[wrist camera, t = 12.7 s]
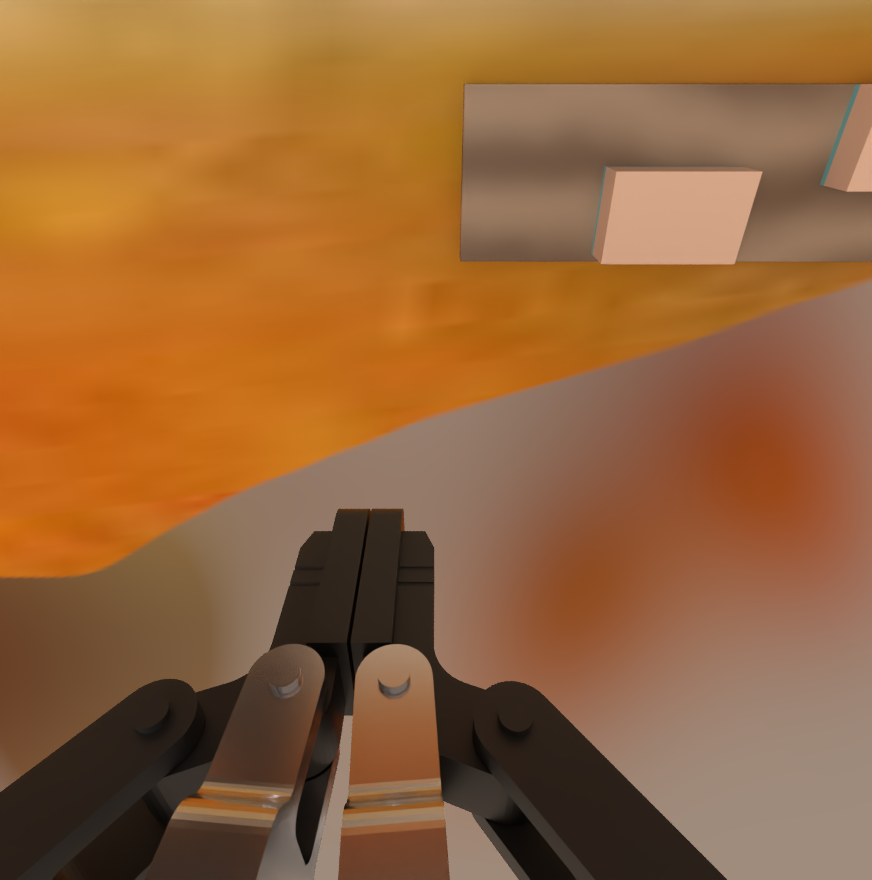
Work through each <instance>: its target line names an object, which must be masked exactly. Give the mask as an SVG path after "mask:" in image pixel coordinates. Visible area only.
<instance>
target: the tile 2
mask: <svg viewBox="0 0 872 880" xmlns="http://www.w3.org/2000/svg"><path fill="white" fill-rule="evenodd" d="M820 185H823V186H827V187H830V188H834V189H838V190H842V191H846V192H872V84H856V85H855V88H854V91H853V94H852V96H851V99H850V102H849V105H848V107H847V110H846V113H845V116H844V119H843V121H842V124H841V127H840V130H839V132H838V135H837V138H836V141H835V143H834V146H833V149H832V152H831V155H830V157H829V160H828V163H827V166H826V168H825V171H824V174H823V177H822V180H821V182H820Z"/></svg>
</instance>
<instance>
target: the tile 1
mask: <svg viewBox="0 0 872 880" xmlns="http://www.w3.org/2000/svg"><path fill="white" fill-rule="evenodd" d="M761 175H762V171H758V170H755V169H751V168H747V167H743V166H604V173H603V179H602V186H601V192H600V199H599V205H598V211H597V218H596V224H595V231H594V237H593V244H592V250H591V254H592V255H593V256H594V257H595V258H596V259H597V260H598V262H599V263H600V264H735V261H736V258H737V255H738V251H739V248H740V245H741V241H742V238H743V235H744V231H745V228H746V225H747V222H748V218H749V215H750V212H751V208H752V205H753V202H754V198H755V195H756V192H757V189H758V185H759V182H760V179H761Z"/></svg>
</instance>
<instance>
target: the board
mask: <svg viewBox="0 0 872 880" xmlns="http://www.w3.org/2000/svg"><path fill="white" fill-rule="evenodd" d="M855 85H856V84H464V104H463V146H462V188H461V229H460V261H598V260H597V259H596V258H595V257H594V256H593V255H592V254H591V250H592V244H593V237H594V231H595V224H596V218H597V211H598V205H599V199H600V192H601V186H602V179H603V173H604V166H743V167H747V168H751V169H755V170H758V171H762V175H761V179H760V182H759V185H758V189H757V192H756V195H755V198H754V202H753V205H752V208H751V212H750V215H749V218H748V222H747V225H746V228H745V231H744V235H743V238H742V241H741V245H740V248H739V251H738V255H737V258H736V261H735V262H872V192H846V191H842V190H838V189H834V188H830V187H827V186H823V185H820V182H821V180H822V177H823V174H824V171H825V168H826V166H827V163H828V160H829V157H830V155H831V152H832V149H833V146H834V143H835V141H836V138H837V135H838V132H839V130H840V127H841V124H842V121H843V119H844V116H845V113H846V110H847V107H848V105H849V102H850V99H851V96H852V94H853V91H854V88H855Z"/></svg>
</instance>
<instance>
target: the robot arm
mask: <svg viewBox="0 0 872 880" xmlns="http://www.w3.org/2000/svg"><path fill="white" fill-rule="evenodd" d="M344 715H353V725H352V743H351V759H350V777H349V792H348V799H347V803H346V804H345V806H344V811H343V818H342V828H341V843H340V857H339V874H338V880H450V875H449V864H448V863H449V862H448V849H447V836H446V823H445V811H444V802H443V801H445V802H447V803H450V804H452V805H455V806H457V807H460V808H462V809H465V810H467V811H469V812H472V815H473V817H474V818H475V820H476V822H477V823H478V824H479V826H480V827H481V829H482V830H483V831H484V833H485V834H486V835H487V837H488V838H489V839H490V841H491V842H492V843H493V845H494V846H495V848H496V849H497V850H498V852H499V853H500V854H501V856H502V857H503V859H504V860H505V861H506V863H507V864H508V865H509V867H510V868H511V869H512V871H513V872H514V874H515V875H516V876H517V878H518V879H519V880H727V879H726V878H725V877H724V876H723V875H722V874H721V873H720V872H719V871H718V870H717V869H716V868H715V867H714V866H713V865H712V864H711V863H710V862H709V861H708V860H707V859H706V858H705V857H704V856H703V855H702V854H701V853H700V852H699V851H698V850H697V849H696V848H695V847H694V846H693V845H692V844H691V843H690V842H689V841H688V840H687V839H686V838H685V837H684V836H683V835H682V834H681V833H680V832H679V831H678V830H677V829H676V828H675V827H674V826H673V825H672V824H671V823H670V822H669V821H668V820H667V819H666V818H665V817H664V816H663V815H662V814H661V813H660V812H659V811H658V810H657V809H656V808H655V807H654V806H653V805H652V804H651V803H650V802H649V801H648V800H647V799H646V798H645V797H644V796H643V795H642V794H641V793H640V792H639V791H638V790H637V789H636V788H635V787H634V786H633V785H632V784H631V783H630V782H629V781H628V780H627V779H626V778H625V777H624V776H623V775H622V774H621V773H620V772H619V771H618V770H617V769H616V768H615V767H614V766H613V765H612V764H611V763H610V762H609V761H608V760H607V759H606V758H605V757H604V756H603V755H602V754H601V753H600V752H599V751H598V750H597V749H596V748H595V747H594V746H593V745H592V744H591V743H590V742H589V741H588V740H587V739H586V738H585V737H584V736H583V735H582V734H581V733H580V732H579V731H578V730H577V729H576V728H575V727H574V725H573V724H572V723H571V722H570V721H569V720H568V719H566V717H565V716H564V715H562V714H561V713H560V711H558V709H557V708H556V707H555V706H554V705H553V704H552V703H550V701H549V700H548V699H547V698H545V696H544V695H542V694H541V693H540V692H539V691H538V690H536V689H535V688H533V687H531V686H529V685H527V684H524V683H520V682H515V681H505V682H501V683H497V684H495V685H492V686H491V687H489V688H488V689H486V690H484V689H481V688H478V687H476V686H472V685H469V684H467V683H464V682H462V681H459V680H457V679H456V678H454V677H452V676H451V675H450V674H448V673H447V672H446V671H445V670H444V669H443V668H442V666H441V665H440V664H439V662H438V660H437V658H436V655H435V651H434V547H433V545H432V543H431V541H430V539H429V538H428V536H427V534H426V532H425V531H404V511H403V509H372V510H371V511H370V509H338V511H337V513H336V517H335V522H334V526H333V530H332V531H314V533H313V534H312V535H311V536H310V537H309V538H308V540H307V541H306V542H305V543H304V544H303V546H302V547H301V548H300V551H299V555H298V558H297V562H296V565H295V570H294V572H293V575H292V578H291V581H290V586H289V588H288V592H287V595H286V599H285V602H284V605H283V608H282V612H281V615H280V618H279V622H278V625H277V629H276V632H275V635H274V639H273V642H272V645H271V647H270V650H269V651H268V652H267V653H265V654H264V655H263V656H261V657H260V658H259V659H258V660H257V661H256V662H255V664H254V665H253V666H252V667H251V669H250V671H249V673H248V674H246V675H245V676H243V677H241V678H239V679H237V680H235V681H232V682H229V683H226V684H223V685H219V686H216V687H213V688H210V689H206V690H203V691H199V692H197V693H195V692H194V690H193V689H192V687H191V686H190V685H188V684H187V683H185V682H183V681H181V680H177V679H164V680H159V681H154V682H152V683H149V684H147V685H145V686H143V687H141V688H139V689H138V690H136V691H135V692H133V693H132V694H131V695H129V696H128V697H127V698H125V699H124V700H123V701H121V702H120V703H119V704H117V705H116V706H115V707H113V708H112V709H111V710H109V711H108V712H107V713H105V714H104V715H103V716H101V717H100V718H99V719H97V720H96V721H95V722H93V723H92V724H91V725H89V726H88V727H87V728H85V729H84V730H83V731H81V732H80V733H79V734H77V735H76V736H75V737H73V738H72V739H71V740H69V741H68V742H67V743H65V744H64V745H63V746H61V747H60V748H59V749H57V750H56V751H55V752H53V753H52V754H51V755H49V756H48V757H47V758H45V759H44V760H43V761H41V762H40V763H39V764H37V765H36V766H35V767H33V768H32V769H31V770H29V771H28V772H27V773H25V774H24V775H23V776H21V777H20V778H19V779H17V780H16V781H15V782H13V783H12V784H11V785H9V786H8V787H7V788H5V789H4V790H3V791H2V792H0V880H314V876H315V869H316V863H317V858H318V853H319V848H320V844H321V840H322V835H323V830H324V826H325V821H326V816H327V812H328V807H329V803H330V798H331V794H332V788H333V784H334V780H335V775H336V771H337V766H338V761H339V755H340V746H339V745H340V739H341V732H342V726H343V719H344Z"/></svg>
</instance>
